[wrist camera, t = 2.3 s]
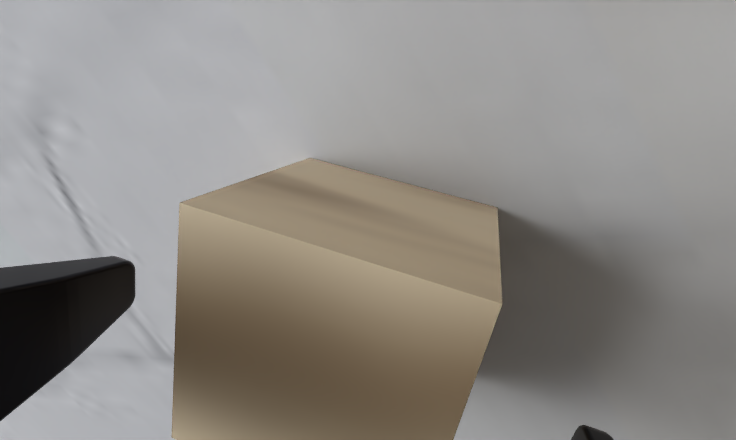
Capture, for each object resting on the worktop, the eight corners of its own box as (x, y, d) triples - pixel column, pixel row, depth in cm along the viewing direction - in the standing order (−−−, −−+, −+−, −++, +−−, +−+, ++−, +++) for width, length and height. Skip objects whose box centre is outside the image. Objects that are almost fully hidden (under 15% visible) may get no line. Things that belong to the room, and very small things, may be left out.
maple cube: (444, 368, 12) (414, 548, 7) (288, 312, 13) (171, 437, 8) (497, 206, 10) (502, 304, 5) (311, 157, 11) (179, 202, 6)
